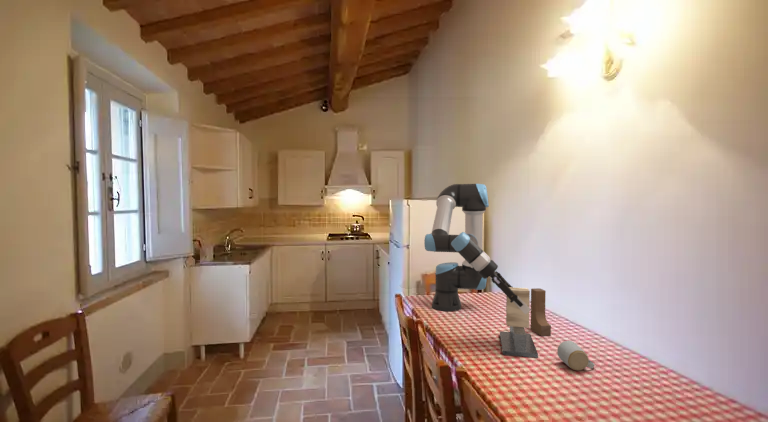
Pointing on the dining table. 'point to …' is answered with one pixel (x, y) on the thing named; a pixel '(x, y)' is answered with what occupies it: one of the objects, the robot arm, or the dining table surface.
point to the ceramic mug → (573, 356)
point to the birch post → (517, 309)
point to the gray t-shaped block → (518, 343)
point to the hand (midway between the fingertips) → (526, 308)
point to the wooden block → (539, 313)
